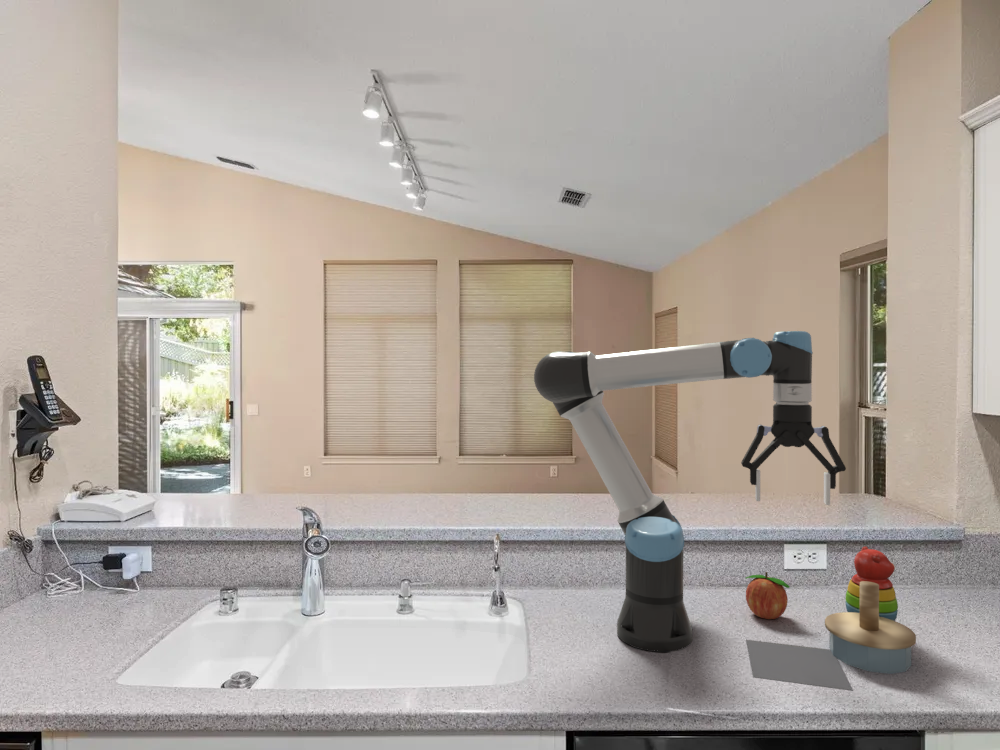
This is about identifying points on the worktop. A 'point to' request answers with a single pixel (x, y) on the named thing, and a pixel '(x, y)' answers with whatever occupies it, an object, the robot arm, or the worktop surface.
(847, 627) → the lid
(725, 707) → the worktop surface
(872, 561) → the stacking bear
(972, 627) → the worktop surface
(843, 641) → the bowl
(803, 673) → the mat
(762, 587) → the fruit
